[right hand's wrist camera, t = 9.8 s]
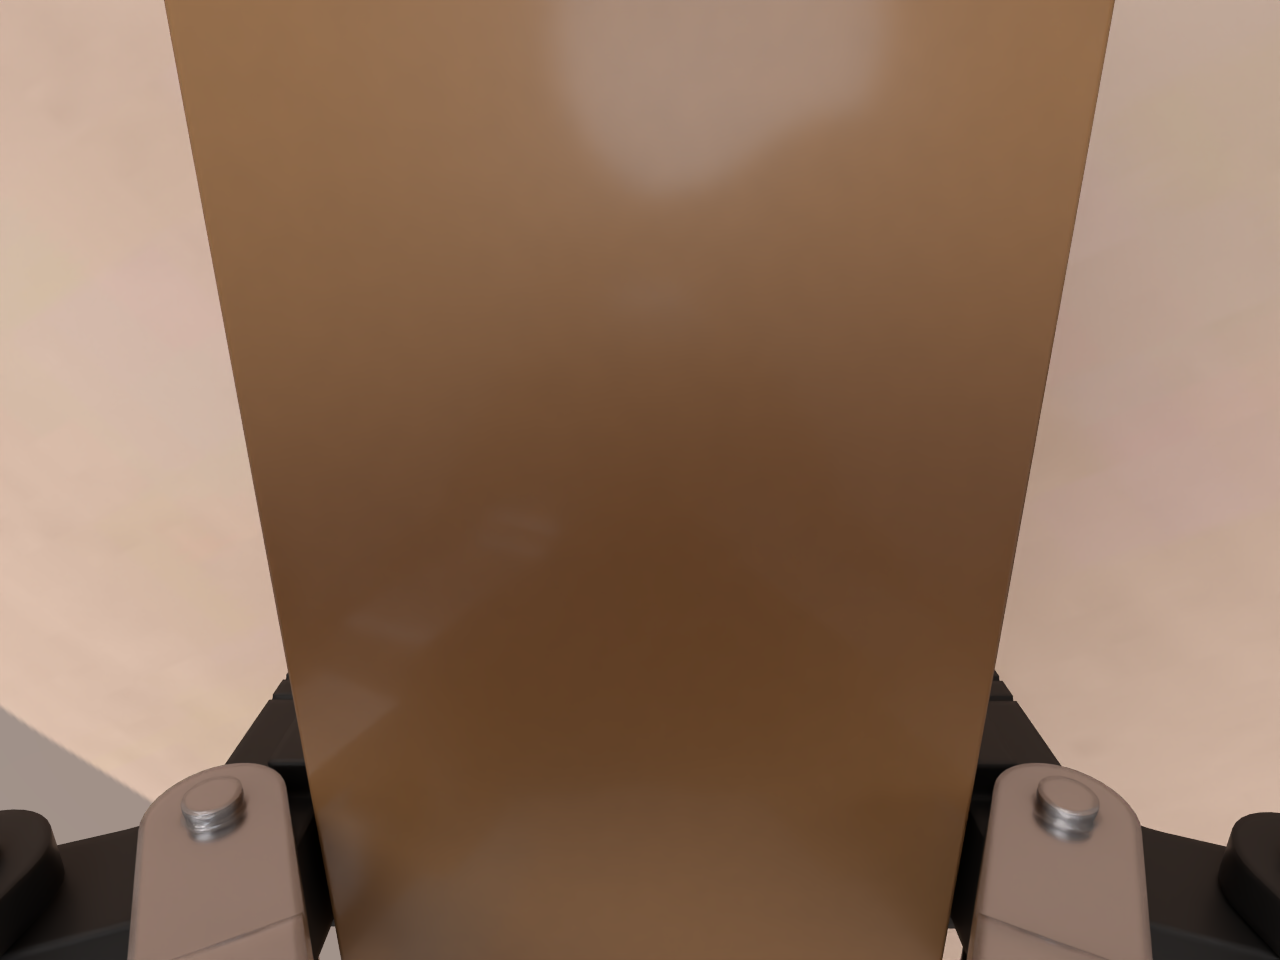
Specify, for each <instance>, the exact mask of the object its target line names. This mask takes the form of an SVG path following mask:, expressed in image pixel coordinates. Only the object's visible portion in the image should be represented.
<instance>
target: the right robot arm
mask: <svg viewBox="0 0 1280 960" xmlns="http://www.w3.org/2000/svg"><path fill="white" fill-rule="evenodd" d="M331 926H335V922H334V917H333V912H332V906H331V901H330V895H329V890H328V885H327V879H326V874H325V868H324V863H323V857H322V852H321V847H320V841H319V836H318V830H317V825H316V820H315V814H314V809H313V803H312V798H311V793H310V787H309V782H308V776H307V771H306V765H305V760H304V755H303V749H302V744H301V738H300V733H299V728H298V722H297V717H296V711H295V706H294V700H293V695H292V690H291V684H290V679H289V673H287V675H286V680H282V682H281V683H280V685H279V686H278V688H277V689H276V691H275V692H274V694H273V699H272V700H269V701H268V702H267V704H266V705H265V707H264V708H263V710H262V711H261V713H260V714H259V715H258V717H257V718H256V720H255V721H254V723H253V724H252V726H251V727H250V729H249V730H248V731H247V733H246V734H245V736H244V737H243V739H242V740H241V742H240V743H239V745H238V746H237V748H236V749H235V750H234V752H233V753H232V755H231V756H230V758H229V759H228V761H227V762H226V764H225V765H222V766H217V767H213V768H210V769H207V770H204V771H201V772H199V773H196V774H194V775H192V776H189V777H187V778H186V779H184V780H182V781H180V782H178V783H177V784H175V785H174V786H172V787H171V788H169V789H168V790H166V791H165V792H164V793H163V794H162V795H160V796H159V797H158V798H157V799H156V800H155V801H154V802H153V803H152V804H151V805H150V807H149V808H148V810H147V811H146V812H145V814H144V816H143V818H142V820H141V822H140V826H138V827H134V828H130V829H127V830H123V831H118V832H114V833H109V834H105V835H101V836H96V837H92V838H88V839H83V840H79V841H74V842H70V843H66V844H61V845H57V844H56V841H55V838H54V835H53V832H52V829H51V826H50V824H49V822H48V820H47V819H46V818H44V817H43V816H42V815H40V814H38V813H35V812H32V811H27V810H2V811H0V960H320V958H319V954H320V952H321V949H322V947H323V944H324V942H325V939H326V937H327V935H328V932H329V930H330V927H331ZM948 928H955V929H956V931H957V934H958V936H959V939H960V941H961V943H962V946H963V948H962V954H961V959H960V960H1280V813H1273V812H1263V813H1254V814H1249V815H1247V816H1245V817H1242V818H1241V819H1240V820H1238V821H1237V822H1236V823H1235V825H1234V827H1233V828H1232V831H1231V834H1230V837H1229V840H1228V843H1227V846H1226V847H1225V846H1221V845H1216V844H1212V843H1208V842H1203V841H1199V840H1195V839H1190V838H1186V837H1181V836H1177V835H1173V834H1168V833H1164V832H1160V831H1156V830H1153V829H1149V828H1146V827H1143V826H1141V825H1140V822H1139V820H1138V818H1137V816H1136V814H1135V812H1134V811H1133V809H1132V808H1131V807H1130V805H1129V804H1128V803H1127V802H1126V801H1125V800H1124V799H1123V798H1122V797H1121V796H1120V795H1118V794H1117V793H1116V792H1115V791H1114V790H1112V789H1111V788H1109V787H1108V786H1106V785H1105V784H1103V783H1102V782H1100V781H1098V780H1096V779H1094V778H1093V777H1091V776H1088V775H1086V774H1084V773H1081V772H1079V771H1076V770H1073V769H1070V768H1067V767H1063V766H1061V765H1060V763H1059V762H1058V760H1057V759H1056V758H1055V756H1054V755H1053V753H1052V752H1051V750H1050V749H1049V747H1048V746H1047V745H1046V743H1045V742H1044V740H1043V739H1042V737H1041V736H1040V734H1039V733H1038V732H1037V730H1036V729H1035V727H1034V726H1033V724H1032V723H1031V721H1030V720H1029V719H1028V717H1027V716H1026V714H1025V713H1024V711H1023V710H1022V708H1021V707H1020V706H1019V704H1018V703H1017V701H1013V695H1012V694H1011V693H1010V691H1009V690H1008V688H1007V687H1006V685H1005V684H1004V682H1003V681H999V675H998V674H997V672H996V671H995V669H994V674H993V680H992V686H991V691H990V697H989V702H988V708H987V713H986V719H985V724H984V730H983V736H982V741H981V747H980V752H979V758H978V763H977V769H976V774H975V780H974V786H973V791H972V797H971V802H970V808H969V813H968V819H967V824H966V830H965V836H964V841H963V847H962V852H961V858H960V863H959V869H958V875H957V880H956V886H955V891H954V897H953V902H952V908H951V913H950V919H949V925H948Z"/></svg>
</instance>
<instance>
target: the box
mask: <svg viewBox="0 0 1280 960" xmlns="http://www.w3.org/2000/svg"><path fill="white" fill-rule="evenodd" d="M164 2H165V8H166V13H167V18H168V24H169V29H170V35H171V40H172V46H173V51H174V56H175V62H176V67H177V73H178V78H179V83H180V89H181V94H182V100H183V105H184V110H185V116H186V121H187V127H188V132H189V138H190V143H191V148H192V154H193V159H194V165H195V170H196V175H197V181H198V186H199V192H200V197H201V203H202V208H203V213H204V219H205V224H206V230H207V235H208V240H209V246H210V251H211V257H212V262H213V267H214V273H215V278H216V284H217V289H218V295H219V300H220V305H221V311H222V316H223V322H224V327H225V332H226V338H227V343H228V349H229V354H230V359H231V365H232V370H233V376H234V381H235V387H236V392H237V397H238V403H239V408H240V414H241V419H242V424H243V430H244V435H245V441H246V446H247V451H248V457H249V462H250V468H251V473H252V479H253V484H254V489H255V495H256V500H257V506H258V511H259V516H260V522H261V527H262V533H263V538H264V544H265V549H266V554H267V560H268V565H269V571H270V576H271V581H272V587H273V592H274V598H275V603H276V608H277V614H278V619H279V625H280V630H281V636H282V641H283V646H284V652H285V657H286V663H287V668H288V673H289V679H290V684H291V690H292V695H293V700H294V706H295V711H296V717H297V722H298V728H299V733H300V738H301V744H302V749H303V755H304V760H305V765H306V771H307V776H308V782H309V787H310V793H311V798H312V803H313V809H314V814H315V820H316V825H317V830H318V836H319V841H320V847H321V852H322V857H323V863H324V868H325V874H326V879H327V885H328V890H329V895H330V901H331V906H332V912H333V917H334V922H335V928H336V933H337V939H338V944H339V949H340V955H341V960H942V958H943V952H944V947H945V941H946V936H947V930H948V925H949V919H950V913H951V908H952V902H953V897H954V891H955V886H956V880H957V875H958V869H959V863H960V858H961V852H962V847H963V841H964V836H965V830H966V824H967V819H968V813H969V808H970V802H971V797H972V791H973V786H974V780H975V774H976V769H977V763H978V758H979V752H980V747H981V741H982V736H983V730H984V724H985V719H986V713H987V708H988V702H989V697H990V691H991V686H992V680H993V674H994V669H995V663H996V658H997V652H998V647H999V641H1000V636H1001V630H1002V624H1003V619H1004V613H1005V608H1006V602H1007V597H1008V591H1009V586H1010V580H1011V574H1012V569H1013V563H1014V558H1015V552H1016V547H1017V541H1018V536H1019V530H1020V524H1021V519H1022V513H1023V508H1024V502H1025V497H1026V491H1027V486H1028V480H1029V474H1030V469H1031V463H1032V458H1033V452H1034V447H1035V441H1036V436H1037V430H1038V424H1039V419H1040V413H1041V408H1042V402H1043V397H1044V391H1045V386H1046V380H1047V374H1048V369H1049V363H1050V358H1051V352H1052V347H1053V341H1054V336H1055V330H1056V324H1057V319H1058V313H1059V308H1060V302H1061V297H1062V291H1063V286H1064V280H1065V274H1066V269H1067V263H1068V258H1069V252H1070V247H1071V241H1072V236H1073V230H1074V224H1075V219H1076V213H1077V208H1078V202H1079V197H1080V191H1081V186H1082V180H1083V174H1084V169H1085V163H1086V158H1087V152H1088V147H1089V141H1090V136H1091V130H1092V124H1093V119H1094V113H1095V108H1096V102H1097V97H1098V91H1099V86H1100V80H1101V74H1102V69H1103V63H1104V58H1105V52H1106V47H1107V41H1108V36H1109V30H1110V24H1111V19H1112V13H1113V8H1114V2H1115V0H164Z"/></svg>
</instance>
